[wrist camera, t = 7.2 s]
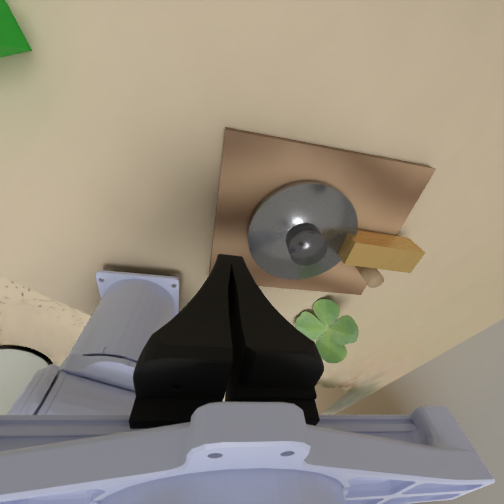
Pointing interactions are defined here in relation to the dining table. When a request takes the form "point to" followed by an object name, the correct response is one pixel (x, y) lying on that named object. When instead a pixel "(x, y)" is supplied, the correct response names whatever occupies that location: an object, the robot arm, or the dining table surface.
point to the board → (316, 169)
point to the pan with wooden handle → (319, 235)
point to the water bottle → (17, 372)
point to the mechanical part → (10, 33)
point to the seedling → (328, 330)
